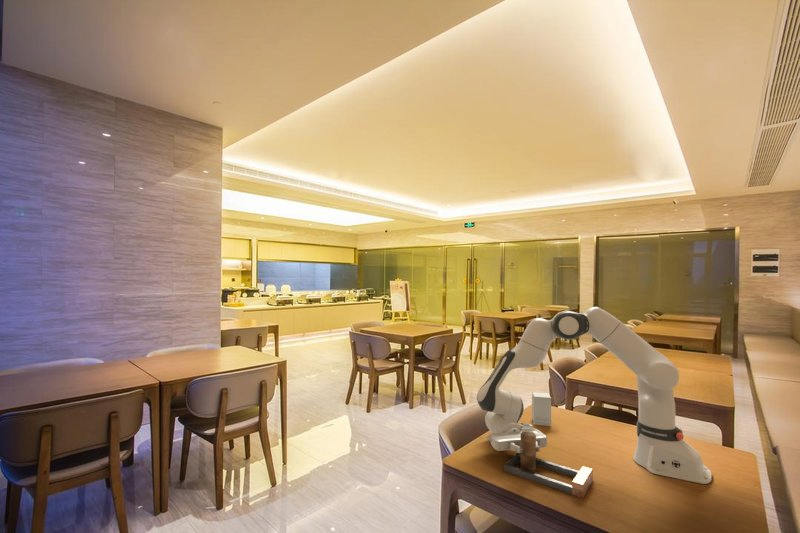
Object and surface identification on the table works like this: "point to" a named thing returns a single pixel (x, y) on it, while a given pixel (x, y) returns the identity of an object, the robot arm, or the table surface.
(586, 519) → the table surface
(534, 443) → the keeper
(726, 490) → the table surface
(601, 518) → the table surface
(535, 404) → the supplement box
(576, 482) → the guide track
